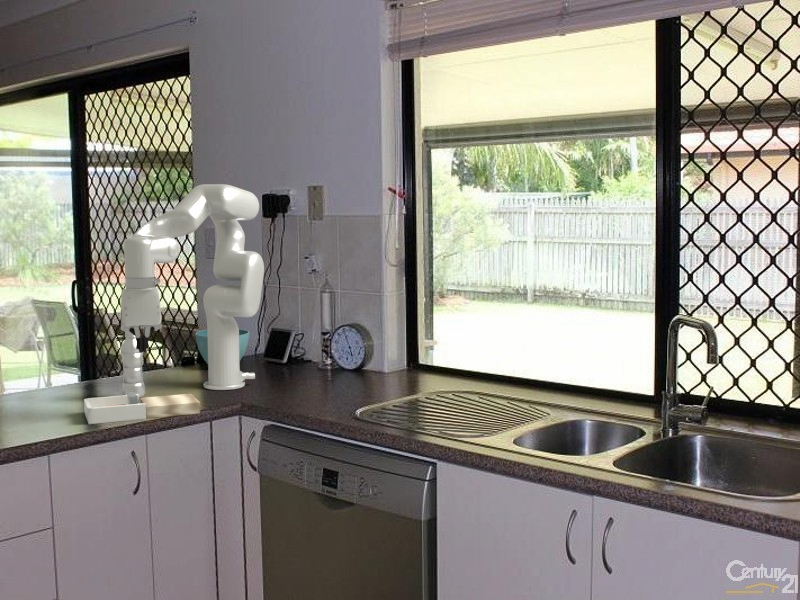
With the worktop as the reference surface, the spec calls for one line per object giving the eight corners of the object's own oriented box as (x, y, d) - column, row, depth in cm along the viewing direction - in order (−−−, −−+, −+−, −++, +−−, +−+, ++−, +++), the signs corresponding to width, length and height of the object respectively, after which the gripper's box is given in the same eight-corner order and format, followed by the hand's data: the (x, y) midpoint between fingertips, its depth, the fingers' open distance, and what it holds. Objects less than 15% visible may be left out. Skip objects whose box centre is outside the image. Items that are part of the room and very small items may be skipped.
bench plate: (191, 403, 249) (191, 393, 249) (200, 413, 238) (199, 402, 238) (140, 408, 243) (140, 397, 243) (147, 418, 232) (146, 407, 232)
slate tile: (134, 392, 239) (127, 393, 238) (137, 396, 234) (129, 396, 233) (135, 410, 239) (127, 411, 239) (138, 414, 235) (130, 415, 234)
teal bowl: (252, 370, 299) (252, 335, 297) (197, 373, 294) (197, 337, 292) (246, 361, 316) (246, 327, 314) (194, 363, 311) (194, 329, 309)
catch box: (139, 408, 244) (138, 394, 243) (146, 418, 232) (145, 403, 231) (84, 413, 238) (83, 398, 237) (88, 424, 226) (88, 408, 225)
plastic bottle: (150, 396, 258) (148, 329, 256) (135, 401, 252) (133, 332, 250) (131, 395, 260) (129, 328, 258) (117, 399, 254) (114, 331, 252)
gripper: (166, 281, 240) (168, 347, 243) (109, 283, 234) (111, 351, 237) (171, 284, 234) (173, 352, 236) (112, 286, 228) (115, 356, 230)
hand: (142, 351), depth 236 cm, fingers closed
